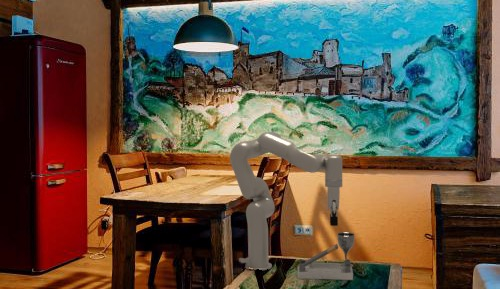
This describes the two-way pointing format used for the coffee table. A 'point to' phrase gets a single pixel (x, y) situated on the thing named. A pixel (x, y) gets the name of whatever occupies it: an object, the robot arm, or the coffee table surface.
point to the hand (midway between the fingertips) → (333, 223)
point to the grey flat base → (325, 271)
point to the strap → (320, 255)
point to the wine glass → (345, 243)
